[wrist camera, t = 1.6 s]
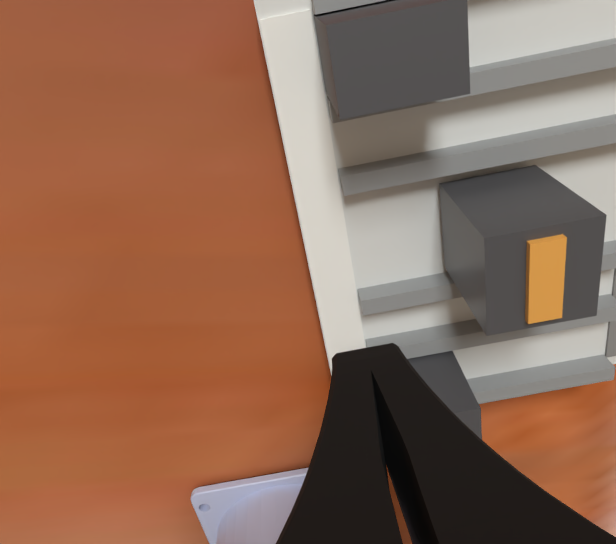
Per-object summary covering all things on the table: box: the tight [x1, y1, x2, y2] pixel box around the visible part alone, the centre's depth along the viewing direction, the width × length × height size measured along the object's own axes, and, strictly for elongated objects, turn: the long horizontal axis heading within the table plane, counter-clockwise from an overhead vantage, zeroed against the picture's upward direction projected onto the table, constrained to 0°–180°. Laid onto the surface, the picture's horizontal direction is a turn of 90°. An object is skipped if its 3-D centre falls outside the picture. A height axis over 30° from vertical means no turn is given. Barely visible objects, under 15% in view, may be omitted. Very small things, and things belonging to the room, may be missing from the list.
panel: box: [254, 0, 616, 440], centre depth 17 cm, size 15×12×5 cm
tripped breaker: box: [439, 165, 607, 336], centre depth 15 cm, size 3×3×4 cm
